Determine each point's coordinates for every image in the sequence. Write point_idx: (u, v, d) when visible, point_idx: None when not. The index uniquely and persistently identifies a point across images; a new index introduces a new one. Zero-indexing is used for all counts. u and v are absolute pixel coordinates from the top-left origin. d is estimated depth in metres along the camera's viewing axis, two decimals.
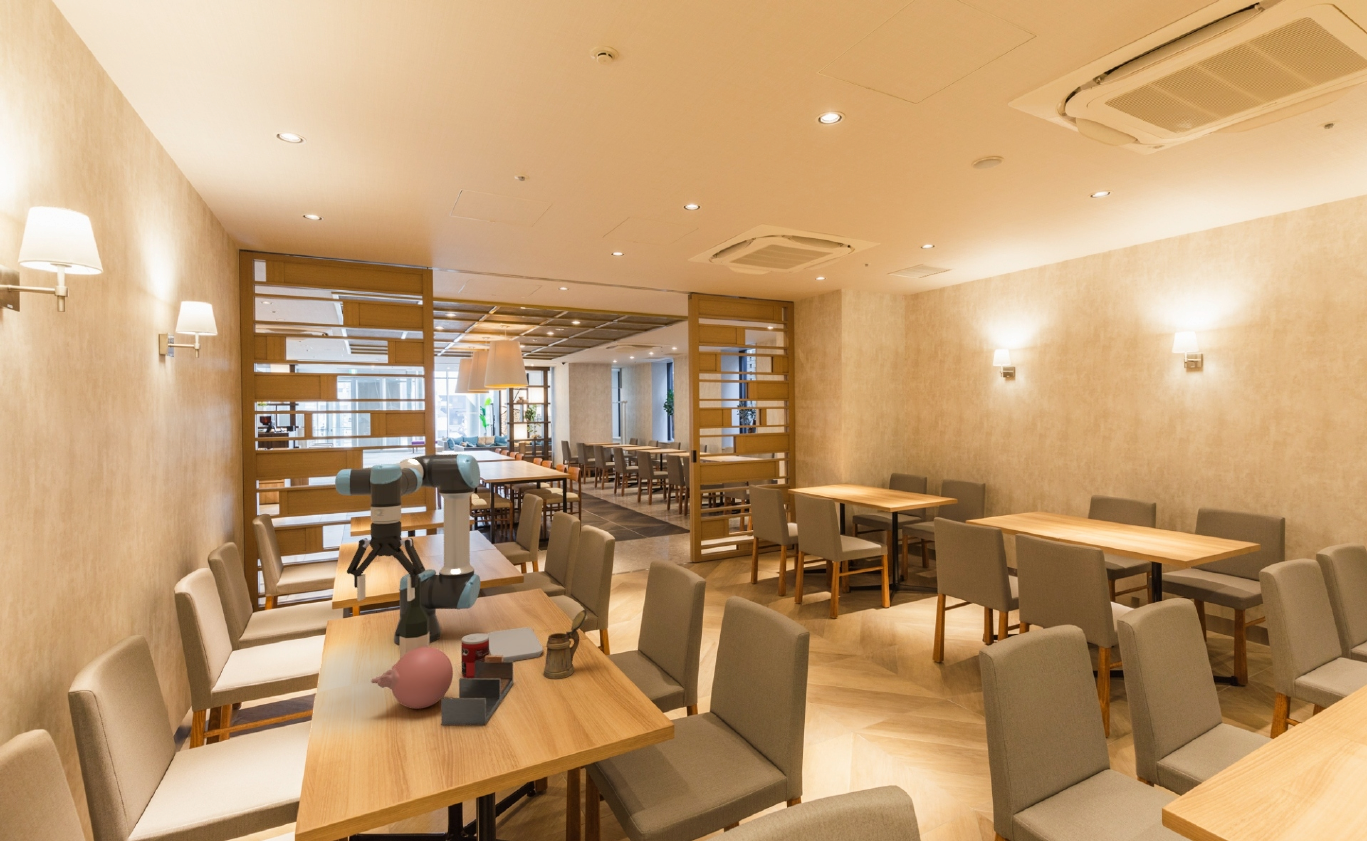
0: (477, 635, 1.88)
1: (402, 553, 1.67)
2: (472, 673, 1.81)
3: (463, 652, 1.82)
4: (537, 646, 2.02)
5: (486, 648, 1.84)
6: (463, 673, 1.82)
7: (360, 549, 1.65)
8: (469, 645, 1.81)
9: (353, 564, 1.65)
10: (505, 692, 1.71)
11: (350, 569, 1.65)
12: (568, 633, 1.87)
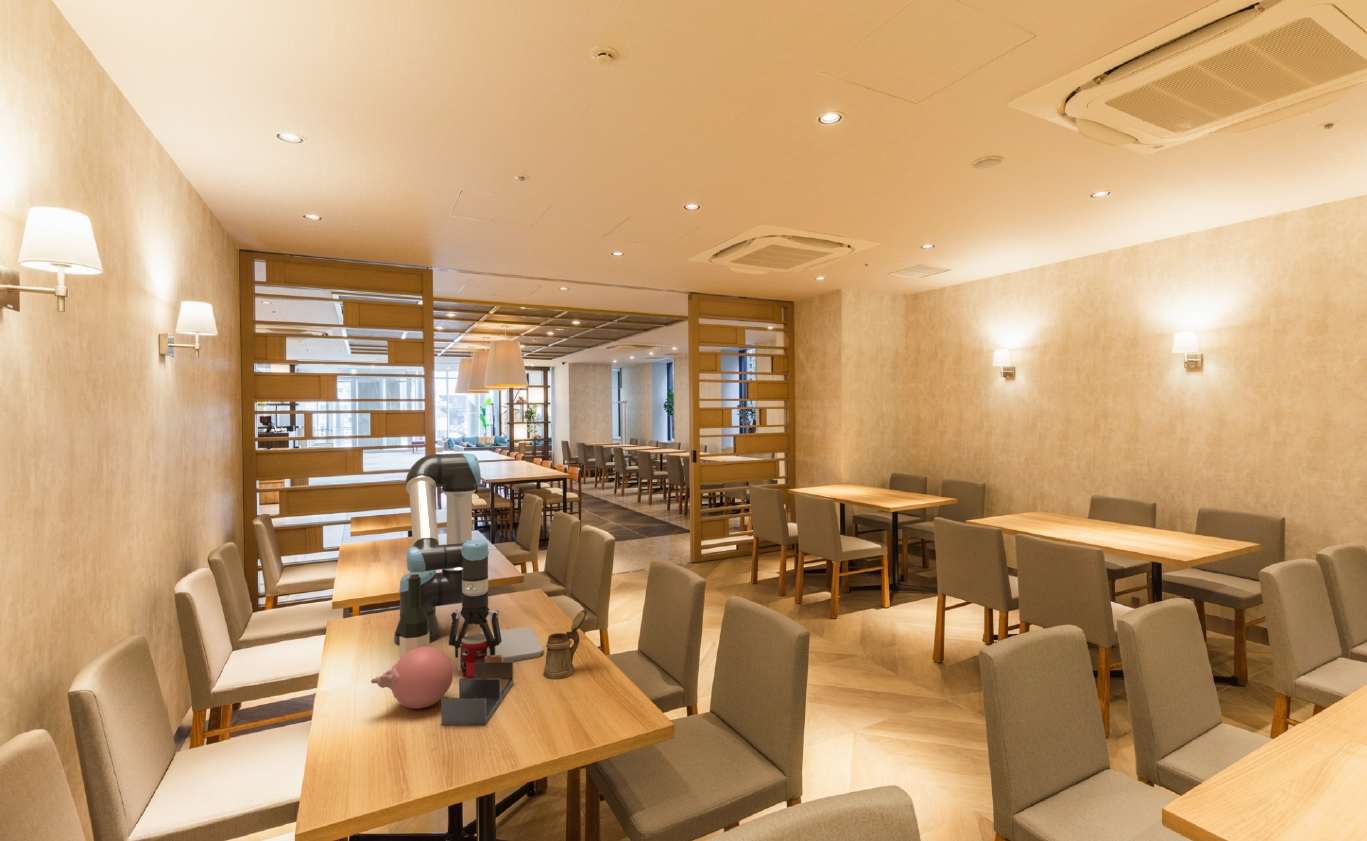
0: (477, 635, 1.88)
1: (486, 623, 1.86)
2: (472, 673, 1.81)
3: (463, 652, 1.82)
4: (538, 646, 2.02)
5: (486, 648, 1.84)
6: (463, 673, 1.82)
7: (454, 621, 1.84)
8: (469, 645, 1.81)
9: (452, 636, 1.84)
10: (505, 692, 1.71)
11: (451, 641, 1.84)
12: (568, 633, 1.87)
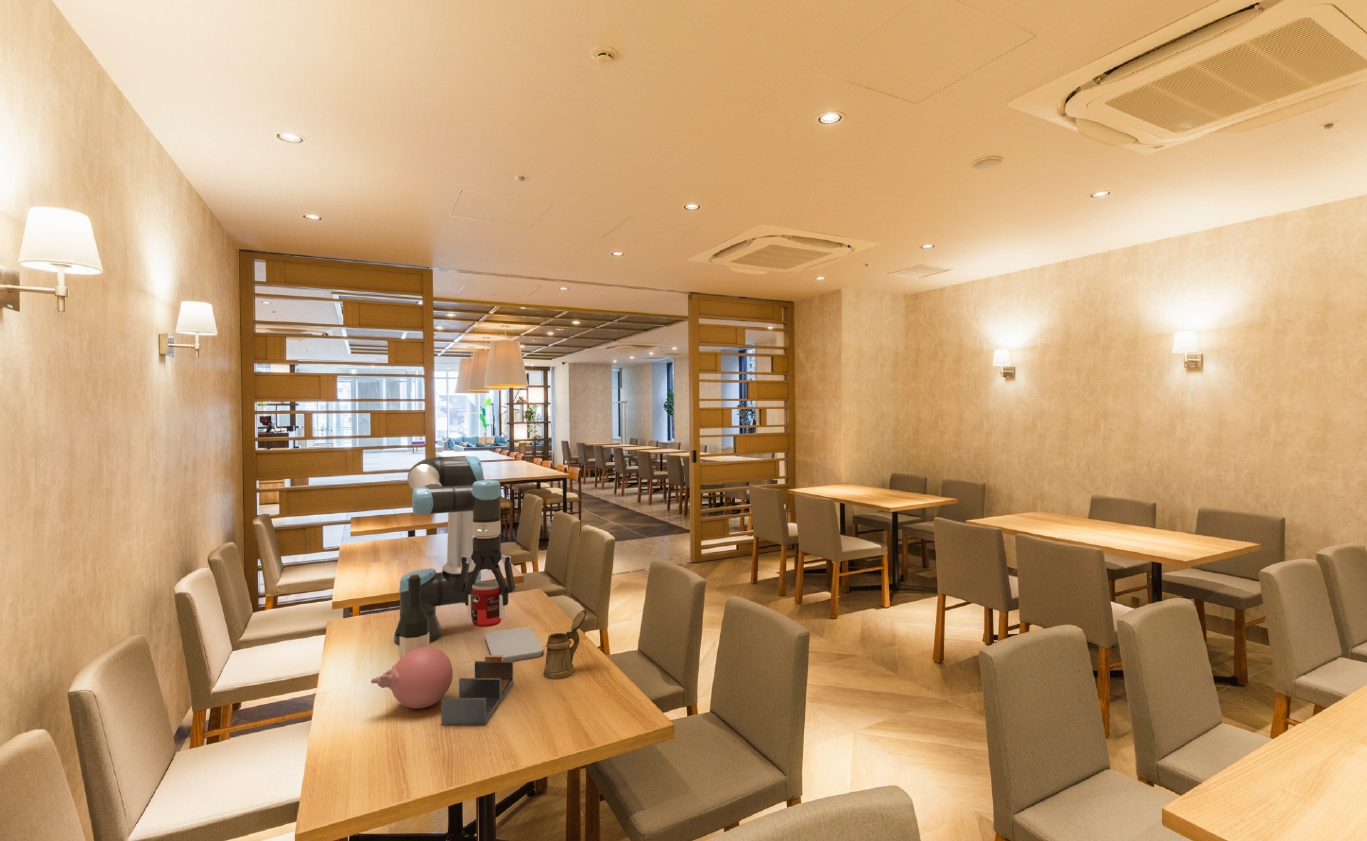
0: (488, 582, 1.74)
1: (499, 569, 1.73)
2: (484, 621, 1.68)
3: (474, 599, 1.69)
4: (538, 646, 2.02)
5: (498, 595, 1.71)
6: (474, 621, 1.69)
7: (464, 566, 1.71)
8: (480, 591, 1.68)
9: (462, 582, 1.71)
10: (505, 692, 1.71)
11: (461, 587, 1.71)
12: (568, 633, 1.87)
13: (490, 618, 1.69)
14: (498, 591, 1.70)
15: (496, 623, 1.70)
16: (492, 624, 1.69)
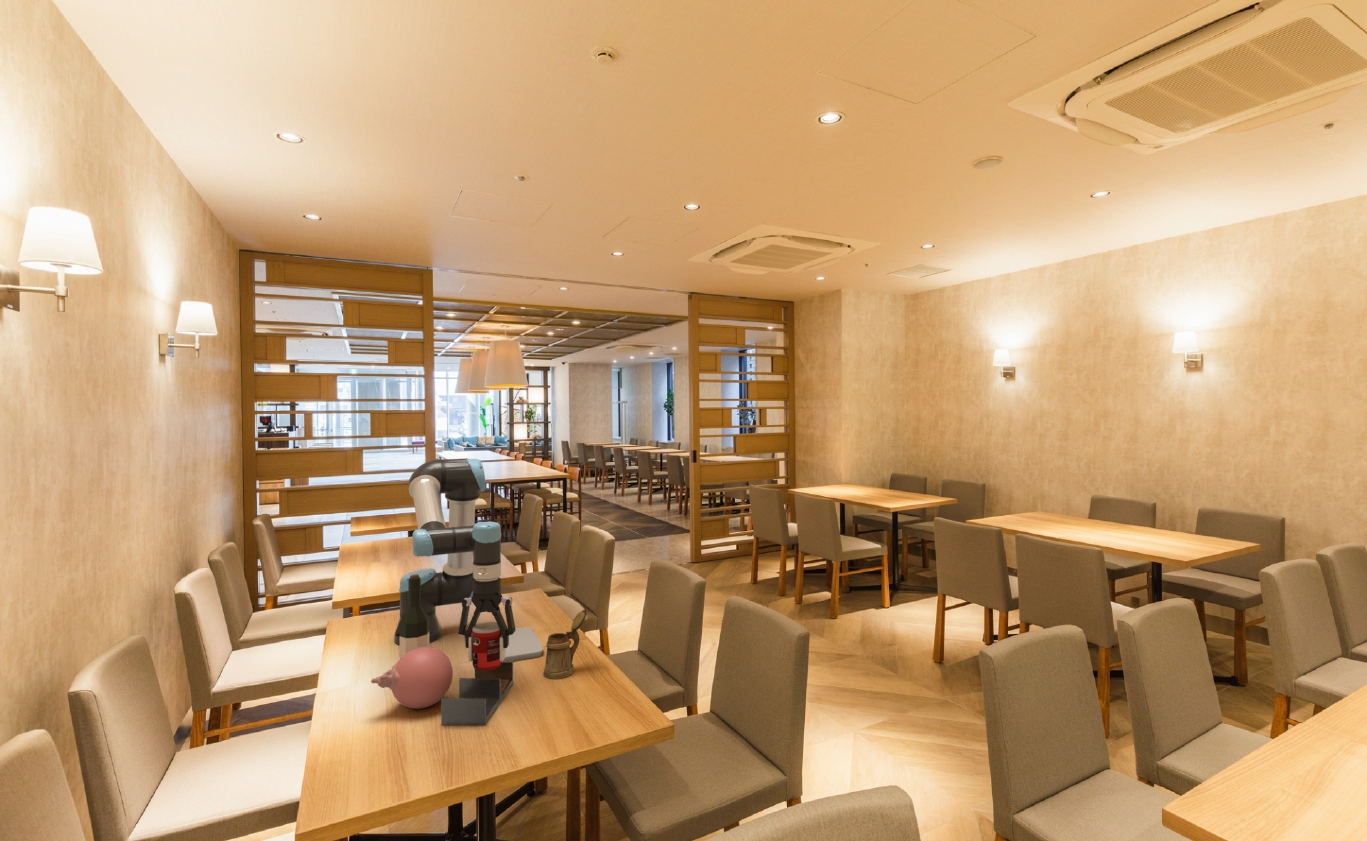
0: (489, 624, 1.74)
1: (499, 611, 1.72)
2: (484, 665, 1.68)
3: (474, 642, 1.69)
4: (538, 646, 2.02)
5: (499, 638, 1.70)
6: (474, 664, 1.69)
7: (465, 609, 1.71)
8: (481, 634, 1.68)
9: (462, 624, 1.71)
10: (505, 692, 1.71)
11: (461, 630, 1.71)
12: (568, 633, 1.87)
13: (490, 662, 1.68)
14: (498, 634, 1.70)
15: (496, 666, 1.70)
16: (492, 667, 1.69)
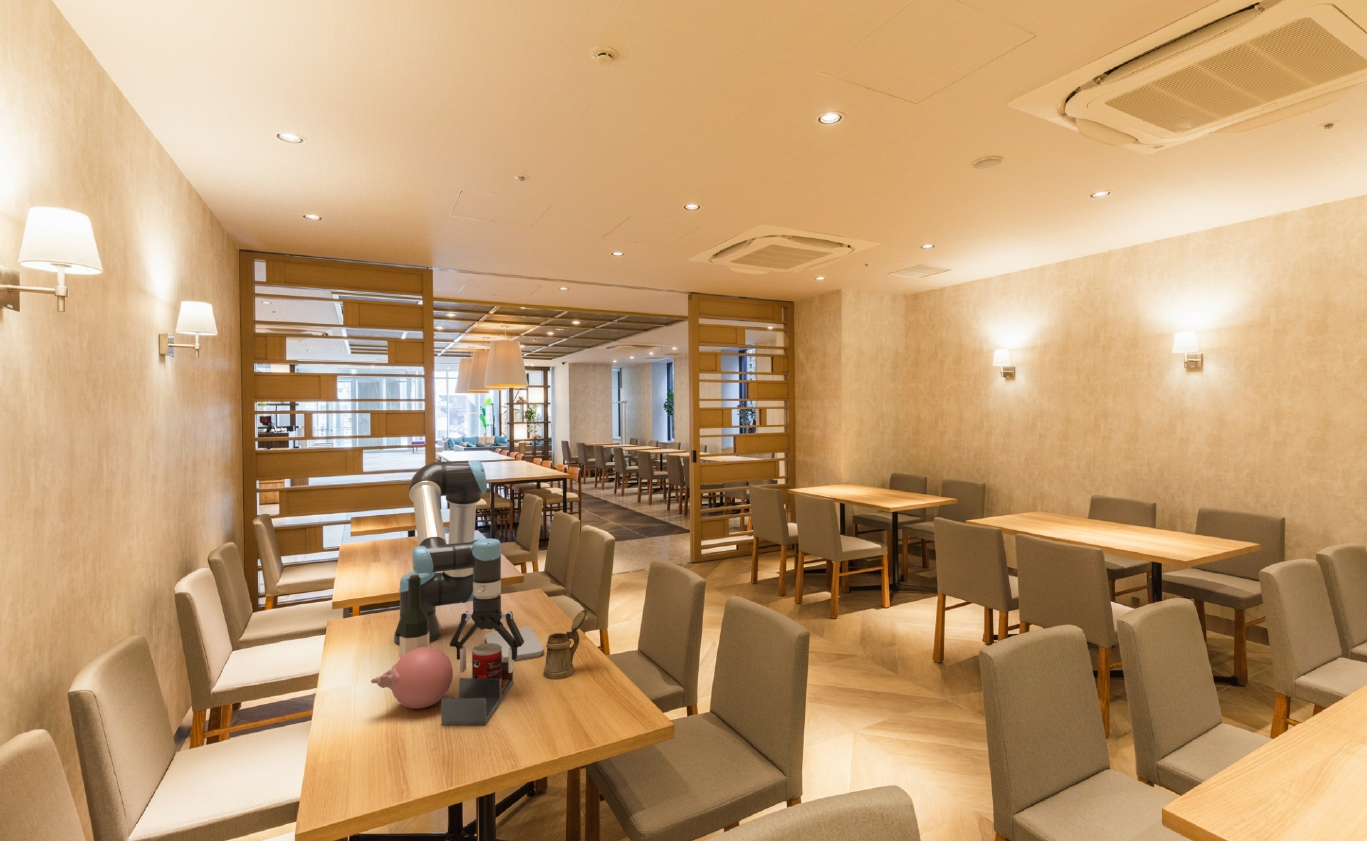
0: (489, 645, 1.74)
1: (502, 626, 1.72)
2: None
3: (474, 664, 1.69)
4: (538, 646, 2.02)
5: (499, 659, 1.71)
6: None
7: (462, 623, 1.71)
8: (481, 657, 1.68)
9: (456, 637, 1.71)
10: (505, 692, 1.71)
11: (453, 642, 1.71)
12: (568, 633, 1.87)
13: None
14: (498, 656, 1.70)
15: None
16: None
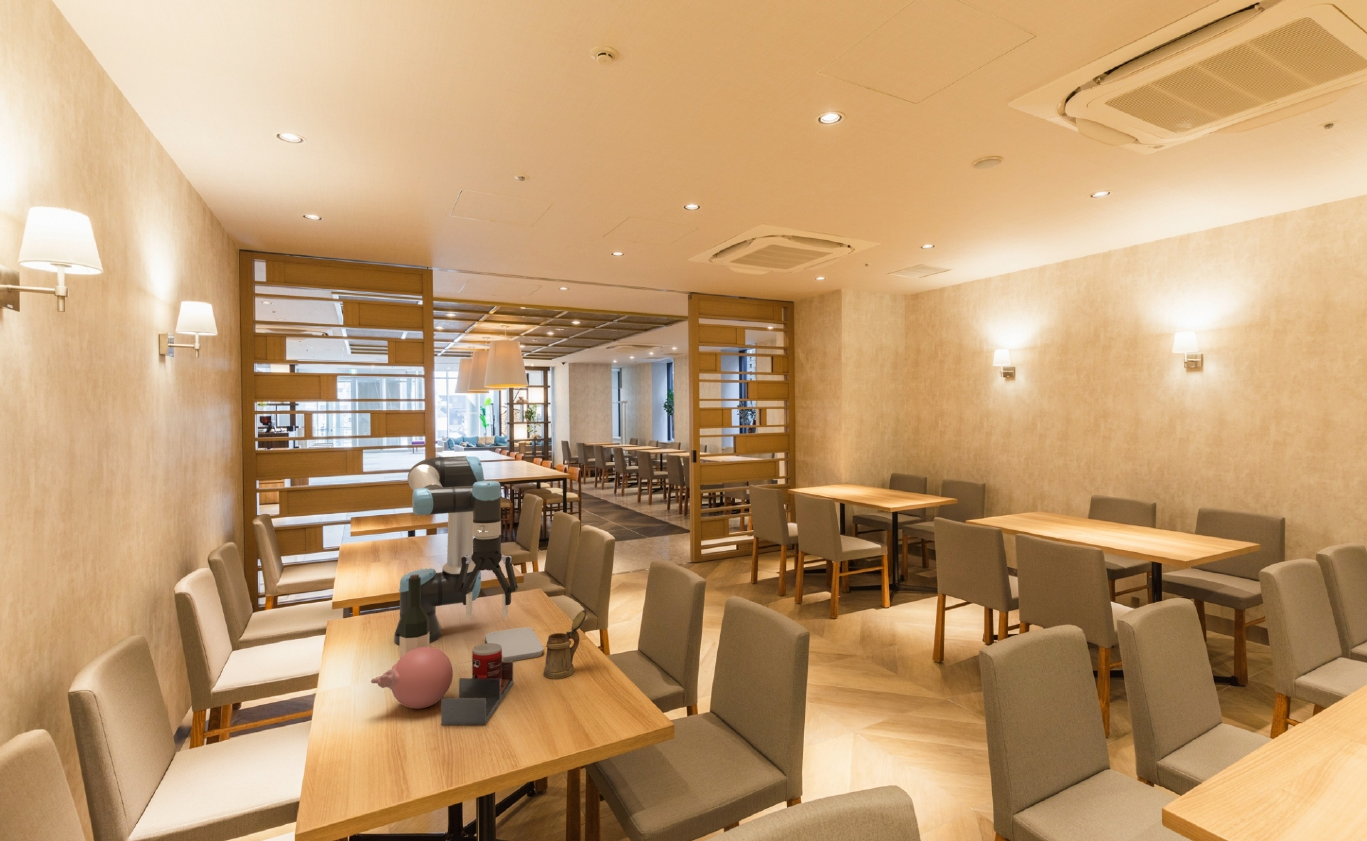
0: (489, 645, 1.74)
1: (500, 569, 1.72)
2: None
3: (474, 664, 1.69)
4: (538, 646, 2.02)
5: (499, 659, 1.71)
6: None
7: (464, 566, 1.71)
8: (481, 656, 1.68)
9: (460, 581, 1.71)
10: (505, 692, 1.71)
11: (458, 587, 1.71)
12: (568, 633, 1.87)
13: None
14: (498, 655, 1.70)
15: None
16: None
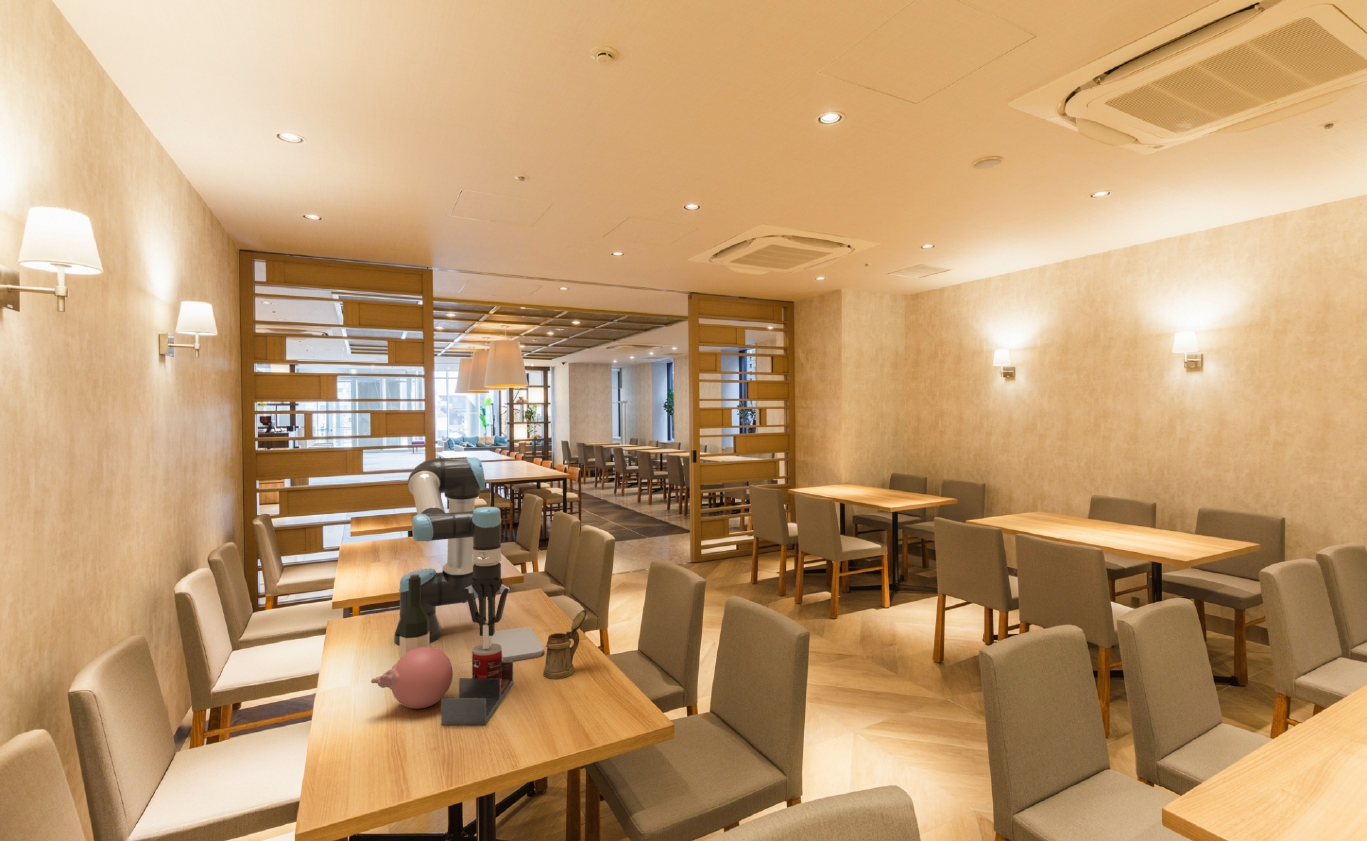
0: None
1: (494, 598, 1.72)
2: None
3: (474, 664, 1.69)
4: (538, 646, 2.02)
5: (499, 659, 1.71)
6: None
7: (469, 596, 1.71)
8: (481, 656, 1.68)
9: (473, 612, 1.71)
10: (505, 692, 1.71)
11: (474, 617, 1.71)
12: (568, 633, 1.87)
13: None
14: (498, 655, 1.70)
15: None
16: None
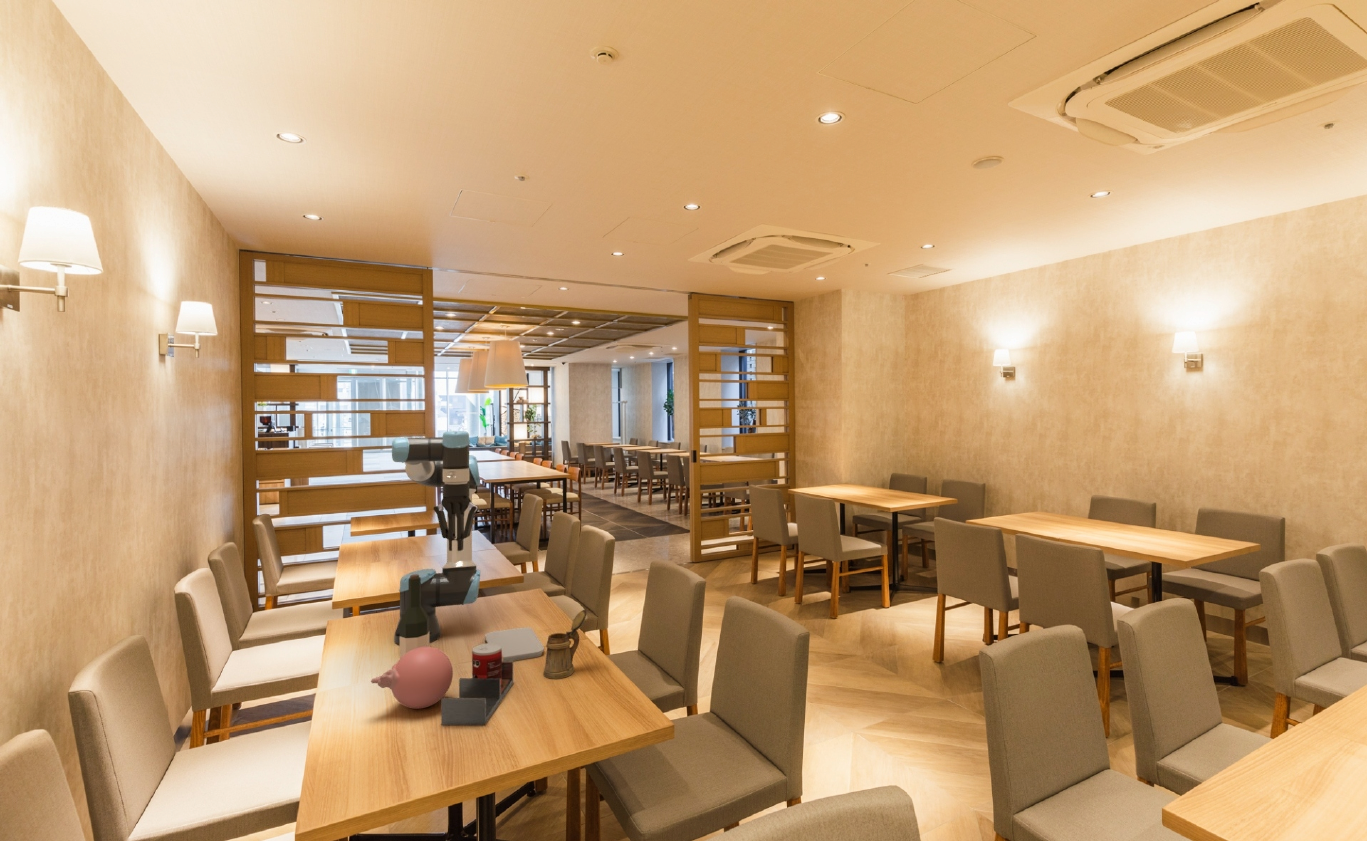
0: (489, 645, 1.74)
1: (463, 516, 1.84)
2: None
3: (474, 664, 1.69)
4: (538, 646, 2.02)
5: (499, 659, 1.71)
6: None
7: (439, 513, 1.82)
8: (481, 656, 1.68)
9: (443, 528, 1.82)
10: (505, 692, 1.71)
11: (444, 533, 1.82)
12: (568, 633, 1.87)
13: None
14: (498, 655, 1.70)
15: None
16: None
